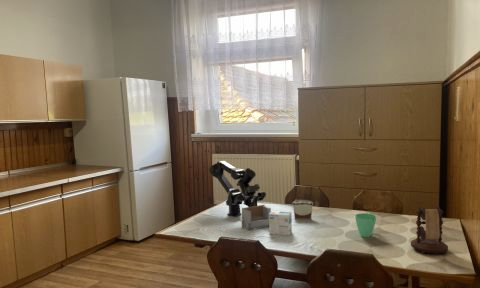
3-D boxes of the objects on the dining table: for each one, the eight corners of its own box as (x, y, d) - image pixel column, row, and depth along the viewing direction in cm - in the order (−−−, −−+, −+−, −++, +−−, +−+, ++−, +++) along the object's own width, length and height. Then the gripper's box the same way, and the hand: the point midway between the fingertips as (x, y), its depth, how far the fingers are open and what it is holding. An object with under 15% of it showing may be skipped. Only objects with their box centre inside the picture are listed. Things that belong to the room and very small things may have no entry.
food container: (312, 216, 223) (312, 199, 222) (313, 219, 217) (313, 202, 216) (291, 216, 224) (291, 199, 223) (292, 219, 218) (292, 202, 217)
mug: (373, 240, 181) (374, 219, 180) (353, 237, 186) (353, 217, 185) (379, 231, 193) (379, 212, 192) (359, 228, 198) (359, 210, 197)
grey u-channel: (241, 227, 205) (241, 209, 204) (266, 222, 212) (266, 205, 211) (247, 230, 200) (246, 212, 199) (272, 225, 207) (272, 207, 206)
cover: (242, 226, 206) (241, 208, 205) (264, 222, 213) (263, 204, 212) (243, 226, 205) (242, 208, 205) (265, 222, 212) (264, 205, 211)
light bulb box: (292, 231, 196) (291, 211, 195) (289, 235, 190) (289, 215, 189) (272, 230, 199) (271, 210, 198) (268, 234, 193) (268, 213, 192)
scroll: (420, 256, 160) (421, 210, 158) (405, 244, 174) (405, 202, 173) (455, 255, 160) (456, 209, 158) (436, 243, 174) (437, 201, 173)
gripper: (235, 181, 208) (246, 205, 200) (264, 177, 217) (275, 200, 209) (229, 192, 216) (239, 216, 208) (257, 188, 225) (267, 210, 216)
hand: (255, 210), depth 210 cm, fingers closed on cover
